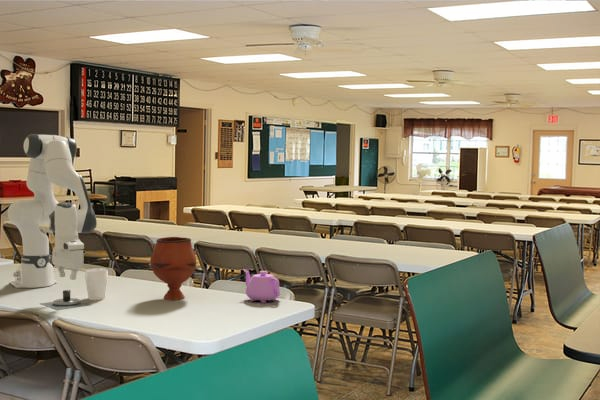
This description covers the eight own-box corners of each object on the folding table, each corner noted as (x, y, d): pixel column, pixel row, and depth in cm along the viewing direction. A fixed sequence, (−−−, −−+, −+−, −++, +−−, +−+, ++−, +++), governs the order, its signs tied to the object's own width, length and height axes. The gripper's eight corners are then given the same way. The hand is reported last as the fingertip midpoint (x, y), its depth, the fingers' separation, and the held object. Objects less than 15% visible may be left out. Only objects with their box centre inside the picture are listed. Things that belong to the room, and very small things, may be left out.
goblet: (165, 292, 305) (165, 235, 304) (205, 295, 299) (205, 237, 297) (141, 300, 287) (141, 240, 286) (183, 304, 281) (182, 242, 279)
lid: (49, 303, 279) (48, 290, 278) (72, 300, 286) (72, 287, 285) (60, 307, 271) (60, 294, 271) (84, 303, 278) (84, 290, 278)
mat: (39, 304, 278) (39, 303, 278) (73, 299, 288) (73, 298, 288) (57, 310, 266) (57, 310, 266) (91, 305, 276) (91, 305, 276)
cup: (101, 301, 284) (101, 272, 284) (81, 300, 286) (81, 271, 285) (112, 297, 293) (111, 268, 292) (92, 296, 295) (91, 268, 294)
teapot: (232, 299, 291) (232, 270, 291) (255, 294, 302) (255, 266, 302) (268, 306, 279) (268, 275, 278) (290, 300, 290) (291, 271, 289)
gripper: (47, 242, 282) (48, 276, 283) (70, 246, 268) (71, 282, 268) (62, 240, 287) (63, 274, 287) (86, 244, 272) (87, 280, 273)
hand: (67, 278), depth 278 cm, fingers open, 8 cm apart
